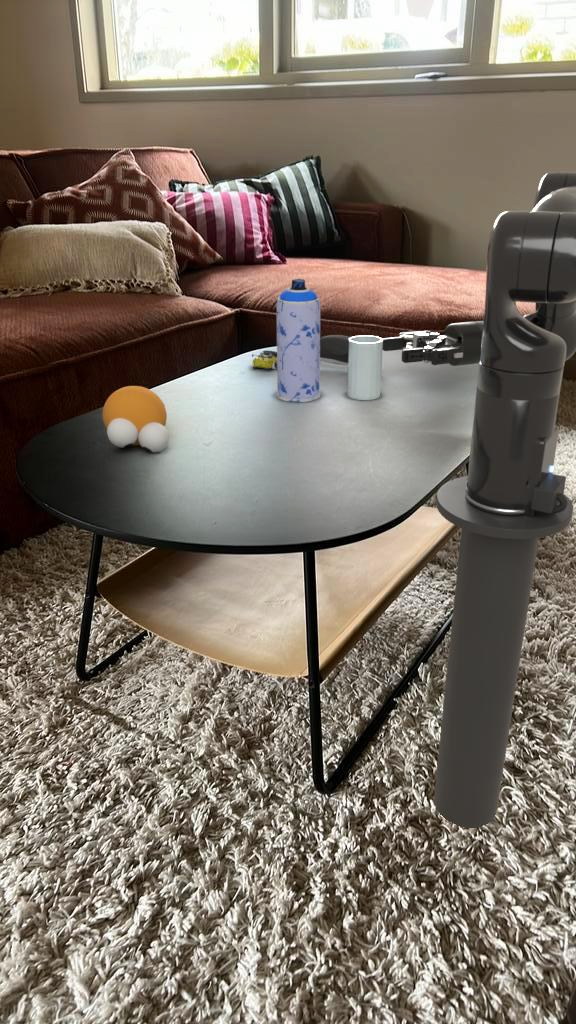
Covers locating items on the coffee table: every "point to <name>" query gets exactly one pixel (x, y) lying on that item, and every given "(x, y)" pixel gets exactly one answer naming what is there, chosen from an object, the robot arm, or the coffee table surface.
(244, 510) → the coffee table surface
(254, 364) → the toy car
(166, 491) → the coffee table surface
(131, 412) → the toy
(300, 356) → the aerosol can
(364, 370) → the plastic cup
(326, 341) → the figurine
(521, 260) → the robot arm
